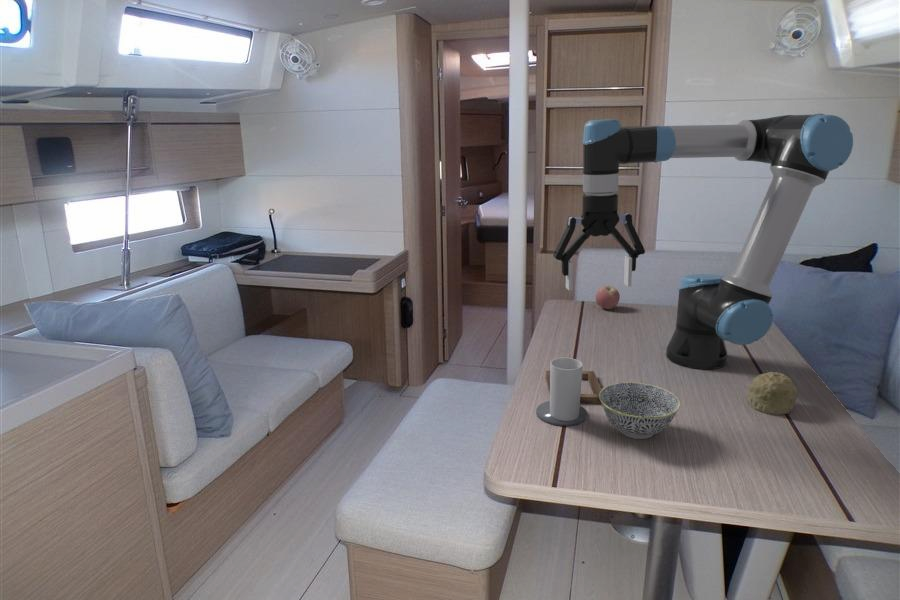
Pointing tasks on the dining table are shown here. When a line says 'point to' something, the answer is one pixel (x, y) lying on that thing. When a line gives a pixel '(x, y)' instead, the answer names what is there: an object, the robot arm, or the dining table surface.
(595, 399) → the holder
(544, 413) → the coaster
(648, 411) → the bowl
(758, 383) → the decorative object
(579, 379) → the mug
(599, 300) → the apple
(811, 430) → the dining table surface
